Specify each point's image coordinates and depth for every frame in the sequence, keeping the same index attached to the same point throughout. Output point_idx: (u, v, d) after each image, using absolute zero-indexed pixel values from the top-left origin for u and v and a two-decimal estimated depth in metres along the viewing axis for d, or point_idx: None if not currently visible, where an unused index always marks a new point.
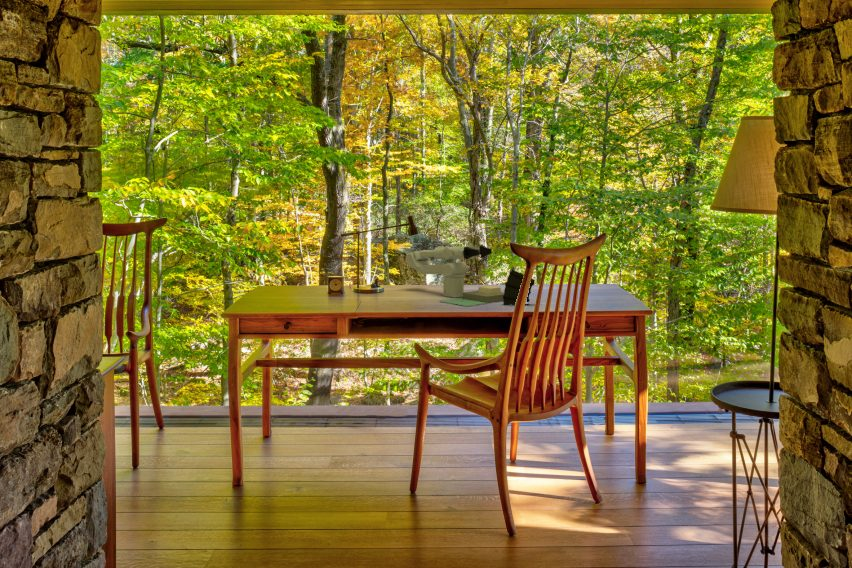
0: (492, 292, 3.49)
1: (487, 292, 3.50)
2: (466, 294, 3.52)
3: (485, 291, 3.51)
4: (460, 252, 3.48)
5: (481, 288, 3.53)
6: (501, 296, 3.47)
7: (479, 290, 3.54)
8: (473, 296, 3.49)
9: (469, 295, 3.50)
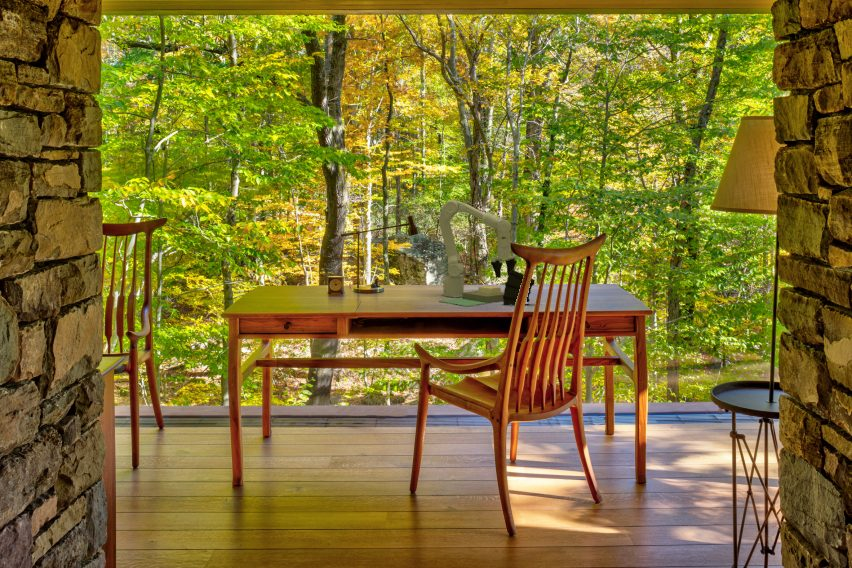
0: (492, 292, 3.49)
1: (487, 292, 3.50)
2: (466, 294, 3.52)
3: (485, 291, 3.51)
4: (493, 260, 3.53)
5: (481, 288, 3.53)
6: (501, 296, 3.47)
7: (479, 290, 3.54)
8: (473, 296, 3.49)
9: (469, 295, 3.50)
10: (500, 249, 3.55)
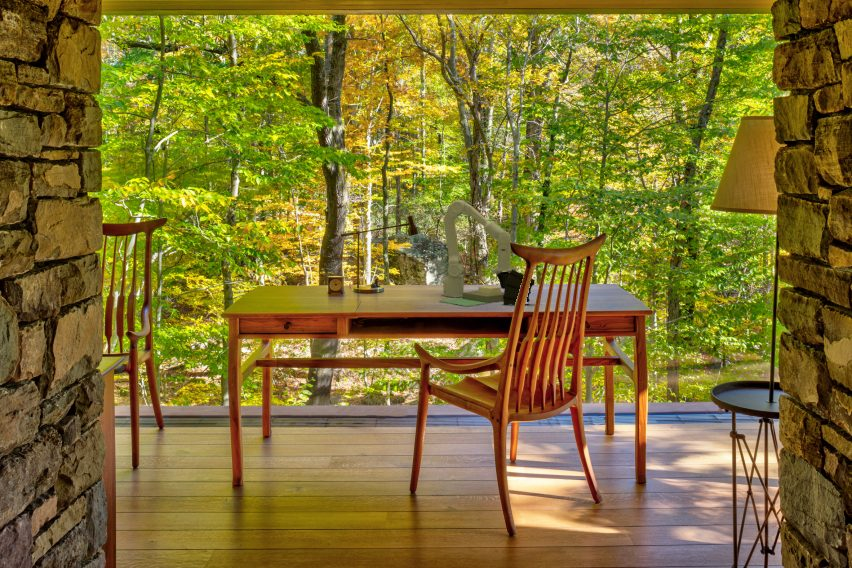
0: (492, 292, 3.49)
1: (487, 292, 3.50)
2: (466, 294, 3.52)
3: (485, 291, 3.51)
4: (493, 272, 3.53)
5: (481, 288, 3.53)
6: (501, 296, 3.47)
7: (479, 290, 3.54)
8: (473, 296, 3.49)
9: (469, 295, 3.50)
10: (500, 261, 3.55)
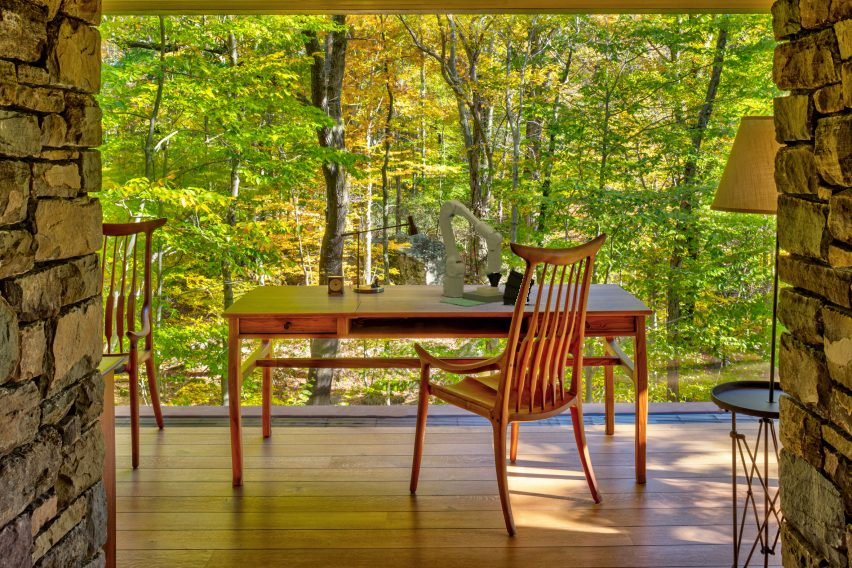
0: (490, 292, 3.48)
1: (485, 292, 3.49)
2: (466, 294, 3.52)
3: (483, 291, 3.50)
4: (483, 273, 3.50)
5: (479, 288, 3.52)
6: (501, 296, 3.47)
7: (477, 290, 3.53)
8: (473, 296, 3.49)
9: (469, 295, 3.50)
10: (490, 262, 3.52)
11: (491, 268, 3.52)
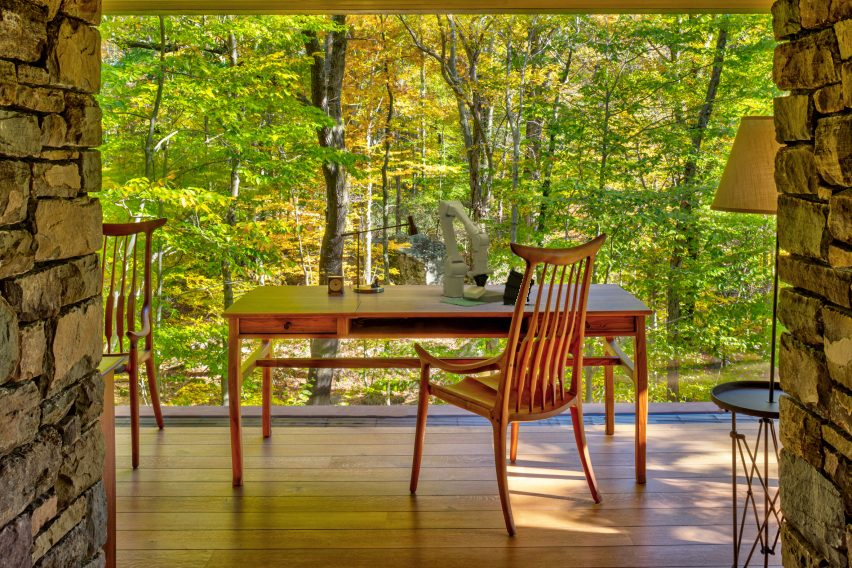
0: (478, 296, 3.43)
1: (473, 296, 3.44)
2: None
3: (471, 295, 3.45)
4: (469, 275, 3.44)
5: (466, 293, 3.47)
6: (501, 296, 3.47)
7: (465, 294, 3.48)
8: None
9: None
10: (477, 263, 3.46)
11: (477, 269, 3.46)
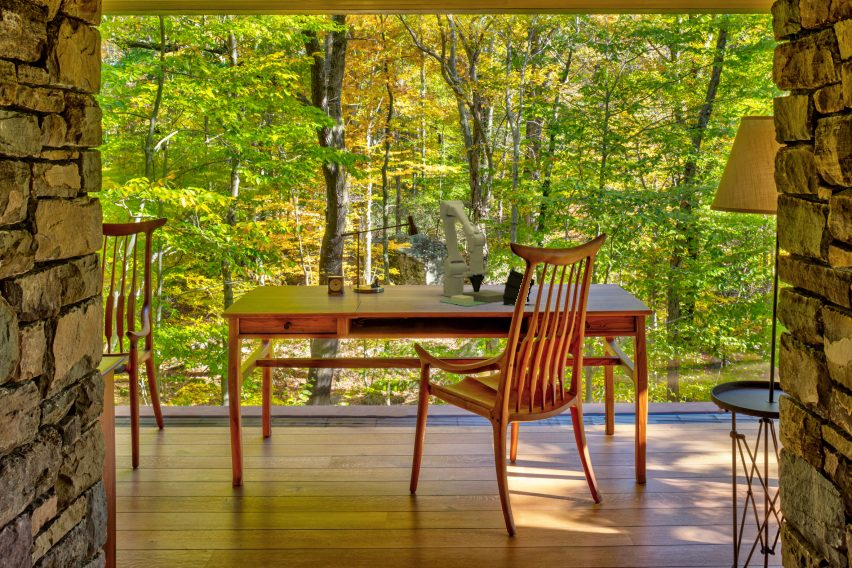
0: (472, 298, 3.41)
1: None
2: (466, 294, 3.52)
3: None
4: (465, 275, 3.43)
5: None
6: (501, 296, 3.47)
7: None
8: (473, 296, 3.49)
9: (469, 295, 3.50)
10: (472, 264, 3.45)
11: (473, 270, 3.45)
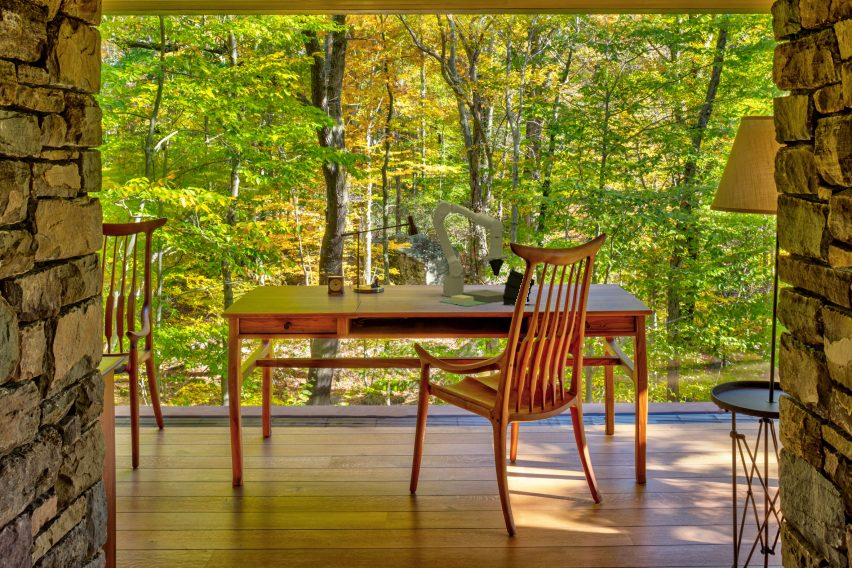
0: (472, 298, 3.41)
1: None
2: (466, 294, 3.52)
3: None
4: (485, 260, 3.56)
5: None
6: (501, 296, 3.47)
7: None
8: (473, 296, 3.49)
9: (469, 295, 3.50)
10: (492, 248, 3.58)
11: (493, 254, 3.58)
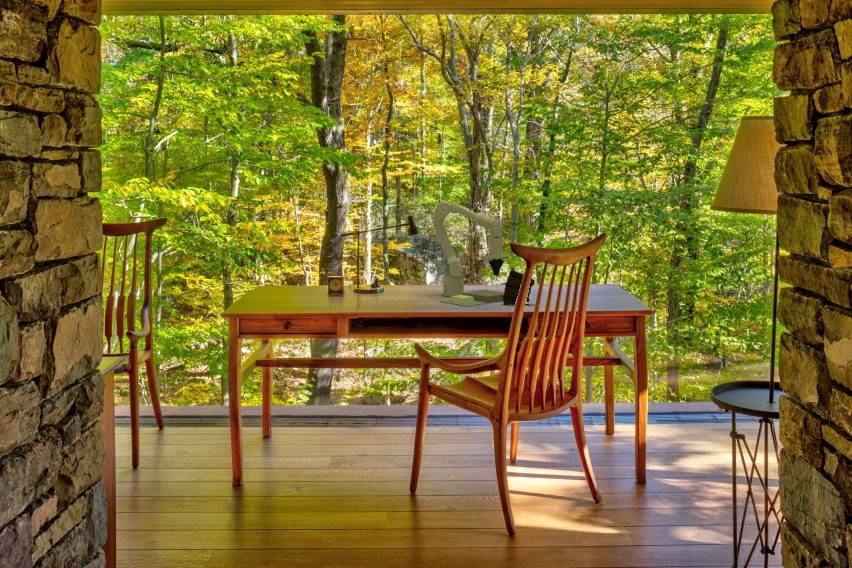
0: (472, 298, 3.41)
1: None
2: (466, 294, 3.52)
3: None
4: (485, 260, 3.56)
5: None
6: (501, 296, 3.47)
7: None
8: (473, 296, 3.49)
9: (469, 295, 3.50)
10: (492, 248, 3.58)
11: (493, 254, 3.59)
